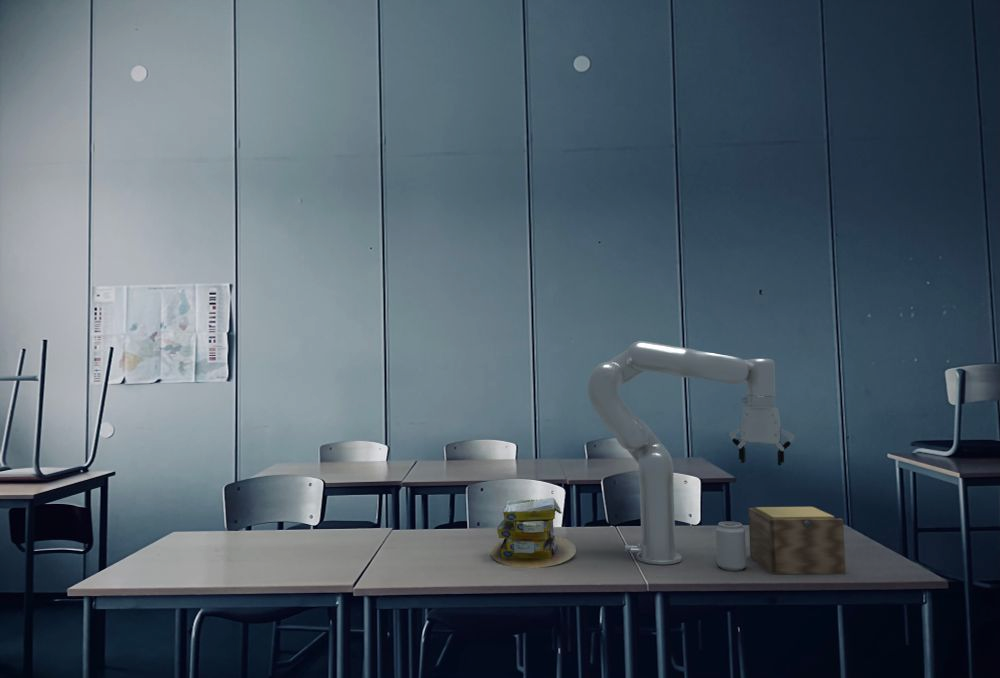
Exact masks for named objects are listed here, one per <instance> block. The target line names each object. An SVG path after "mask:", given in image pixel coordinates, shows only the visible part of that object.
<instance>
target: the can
mask: <svg viewBox="0 0 1000 678" xmlns="http://www.w3.org/2000/svg"><path fill="white" fill-rule="evenodd" d="M742 526H743V523H741V522H738V521H737V522H736V521H720V522H718V526H716V528H715V535H716V541H715V542H716V561H717V562H716V564H717V565H718V566H719V568H721V569H722V570H726V571H731V572H734V571H738V572H739V571H742V570H744V569H745V568H746V566H747V553H746V552H747V550H746V530H745V529H744V528H743V527H742Z"/></svg>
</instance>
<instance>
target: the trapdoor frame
mask: <svg viewBox="0 0 1000 678" xmlns="http://www.w3.org/2000/svg"><path fill="white" fill-rule="evenodd" d="M813 507H814V508H816V509H818V508H817V507H815V506H813ZM748 527H749V528H748V532H749V555H750V556H749V557H750V558H751V559H752V560H753V561H754V562H756V563H757V564H758V565H759V566H761V567H762V568H763V569H765V570H766V571H767V572H769V573H770V574H772V575H843V574H844V575H845V574H846V573H847V572H846V571H847V570H846V568H847V567H846V552H845V536H844V535H845V534H844V533H845V531H844V519H842V518H835V519H771V518H769V517H767V516H765V515H764V514H762V513H760V512H758V511H756V507H749V508H748Z"/></svg>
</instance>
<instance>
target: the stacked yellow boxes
mask: <svg viewBox="0 0 1000 678" xmlns="http://www.w3.org/2000/svg"><path fill="white" fill-rule="evenodd" d="M502 513H503V518H504V519H503V520H501V522H500V523H499V524H498V526H497V528H496V530H497V534H498V538H499V539H503V540H502V541H500V542H499V543H497V544H495V545H494V547H493V548H492V550H491V557H493V559H494V561H496V562H498V563H501V564H502V565H506V566H509V567H515V568H516V567H517V568H528V569H529V568H530V569H537V568H539V569H540V568H547V567H551V566H555V565H559V564H562V563H565V562H567V561H569V560H570V559H571V558H573V557H574V556H575V555H576V552H577V547H576V545H575V544H574V543H573V542H572V541H570V540H569V539H567V538H564V537H561V536H557V535H554V532H555V530H554V519H556V513H558V514H563V512H562V511H561V507H560V506H559V504H558V503H557V501H556V499H555V498H554V497H549V498H548V497H546V498H544V499H542V498H541V499H525V500H524V499H518V500H517V499H516V500H514V499H511V500H507V501H506V504H505V505H504V508H503V511H502Z"/></svg>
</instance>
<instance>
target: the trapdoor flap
mask: <svg viewBox="0 0 1000 678" xmlns="http://www.w3.org/2000/svg"><path fill="white" fill-rule="evenodd" d="M814 507H815V506H759V507H758V506H757V507H756V506H755V508H756V511H758V512H760V513H762V514H764V515H765V516H767V517H769V518H771V519H836V518H835V516H834V515H832V514H830V513H828V512H826V511H823V510H821V509H819V508H817V507H815V508H814ZM816 508H817V509H816Z"/></svg>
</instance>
